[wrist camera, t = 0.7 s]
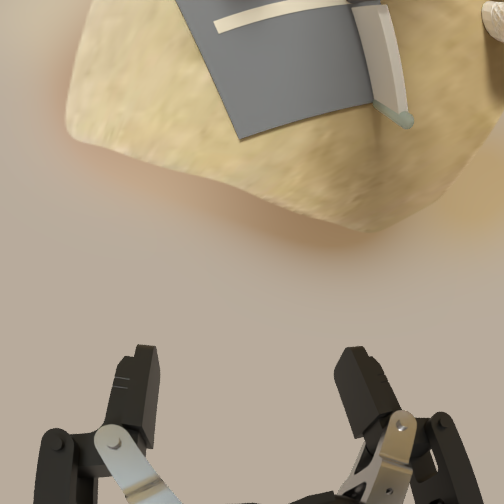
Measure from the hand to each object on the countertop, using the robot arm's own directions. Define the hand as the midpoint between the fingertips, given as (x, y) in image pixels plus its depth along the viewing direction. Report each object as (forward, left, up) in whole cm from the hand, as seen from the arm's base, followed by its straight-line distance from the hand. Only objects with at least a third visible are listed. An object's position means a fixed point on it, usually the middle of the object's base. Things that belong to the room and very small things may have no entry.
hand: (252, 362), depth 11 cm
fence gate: (-4, +17, -26) cm, 32 cm away
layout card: (-10, +10, -27) cm, 31 cm away
